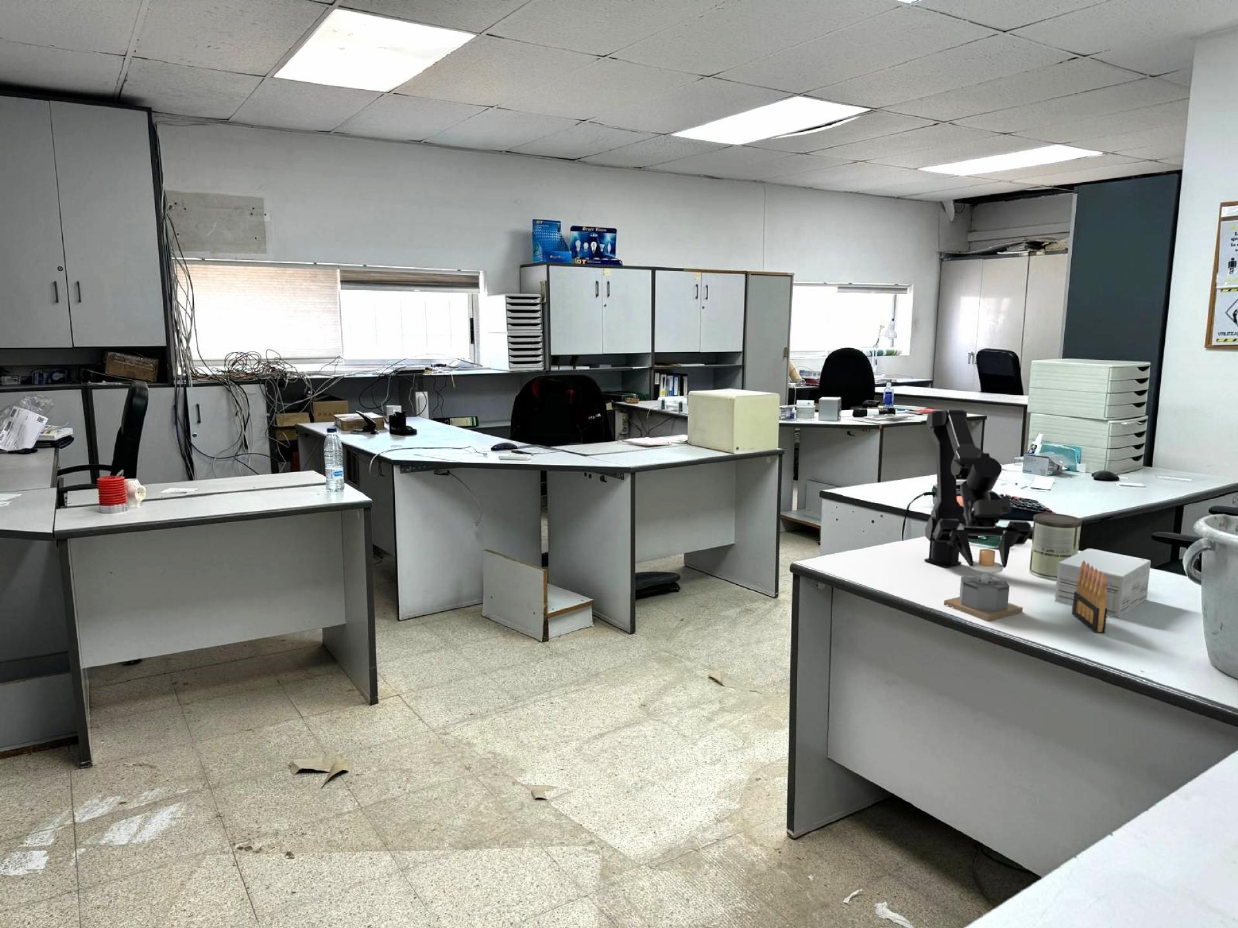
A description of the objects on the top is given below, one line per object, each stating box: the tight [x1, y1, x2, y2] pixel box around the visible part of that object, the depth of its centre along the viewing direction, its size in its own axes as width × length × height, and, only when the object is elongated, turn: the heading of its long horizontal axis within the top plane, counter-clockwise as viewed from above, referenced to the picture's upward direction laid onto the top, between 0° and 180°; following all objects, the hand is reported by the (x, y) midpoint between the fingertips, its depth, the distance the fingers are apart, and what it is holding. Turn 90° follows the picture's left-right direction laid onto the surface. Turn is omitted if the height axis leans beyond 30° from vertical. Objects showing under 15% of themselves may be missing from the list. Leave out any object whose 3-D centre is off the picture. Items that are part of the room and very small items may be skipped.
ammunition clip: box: [1071, 561, 1107, 634], centre depth 166 cm, size 11×2×12 cm, turn 174°
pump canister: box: [943, 574, 1024, 622], centre depth 175 cm, size 11×11×6 cm
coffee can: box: [1028, 512, 1083, 581], centre depth 198 cm, size 10×10×14 cm
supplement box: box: [1054, 548, 1151, 618], centre depth 180 cm, size 17×13×9 cm
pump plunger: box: [969, 548, 1004, 584], centre depth 174 cm, size 6×6×9 cm
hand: (988, 566), depth 173 cm, fingers closed on pump plunger, 6 cm apart
